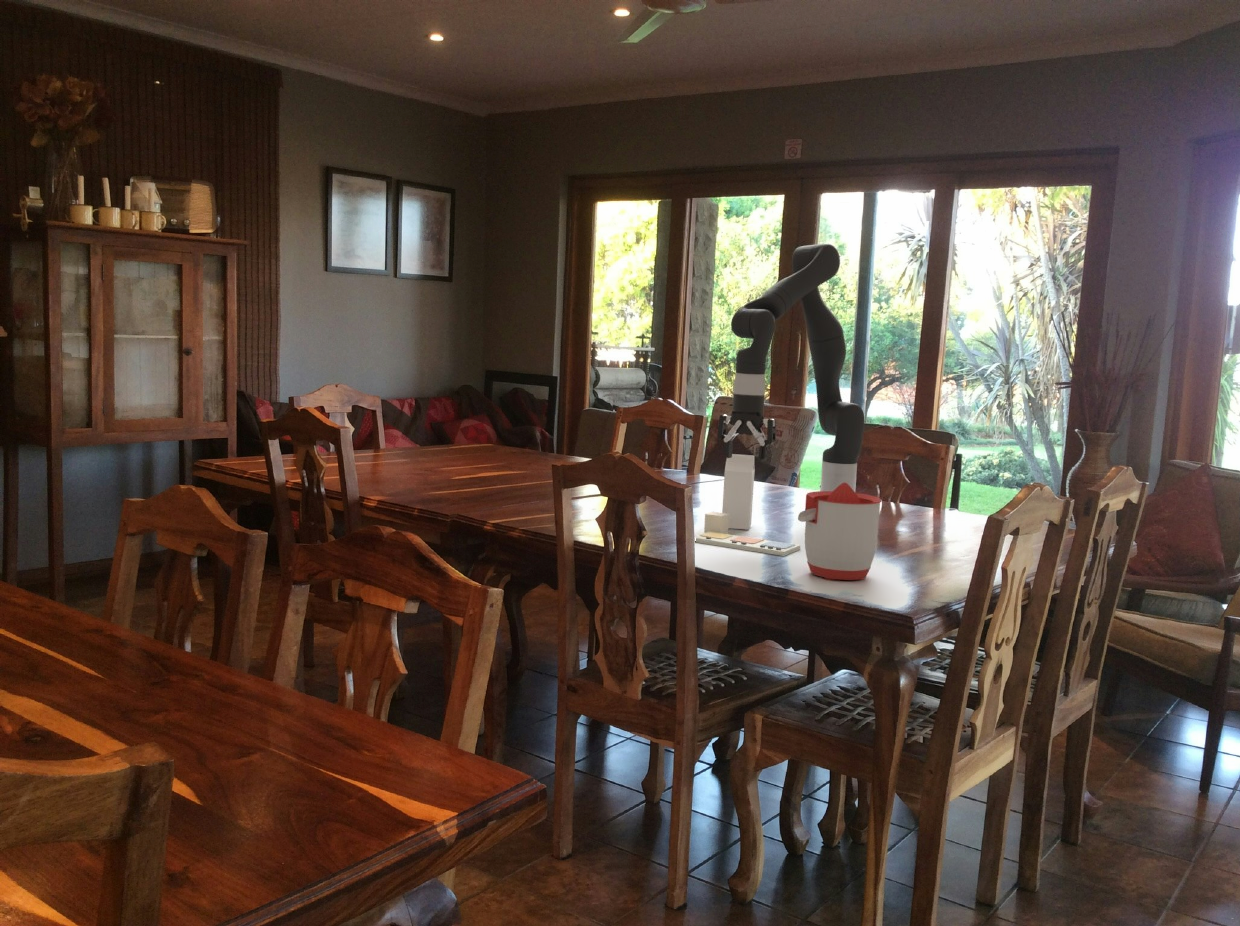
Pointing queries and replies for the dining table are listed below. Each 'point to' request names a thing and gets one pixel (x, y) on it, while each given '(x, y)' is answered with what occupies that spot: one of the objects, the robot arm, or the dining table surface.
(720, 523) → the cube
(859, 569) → the citrus juicer
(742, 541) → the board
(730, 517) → the milk carton
